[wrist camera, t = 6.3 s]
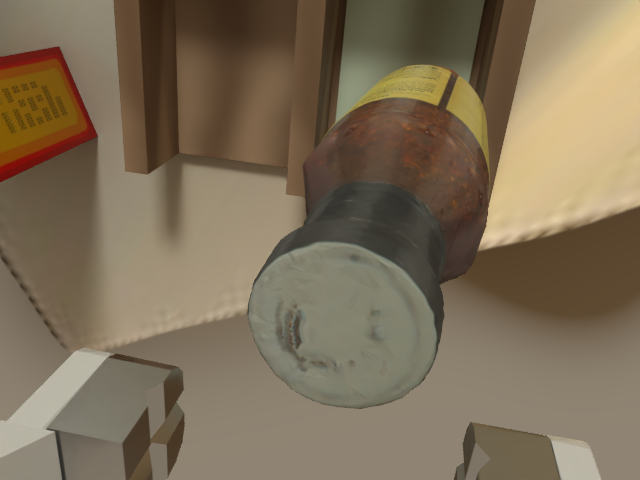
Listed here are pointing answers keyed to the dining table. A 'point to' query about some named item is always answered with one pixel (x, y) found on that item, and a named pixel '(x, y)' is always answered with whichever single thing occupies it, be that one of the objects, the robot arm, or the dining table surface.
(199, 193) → the dining table surface
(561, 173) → the dining table surface
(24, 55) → the baking soda box
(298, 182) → the wooden divided tray
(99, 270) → the dining table surface
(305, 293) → the sauce bottle
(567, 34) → the dining table surface
